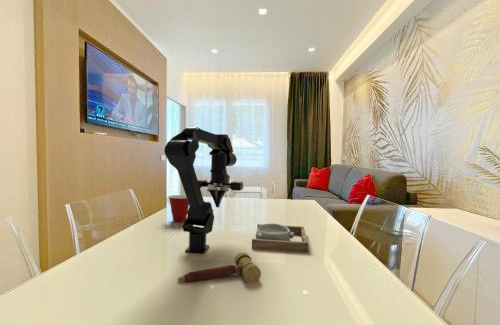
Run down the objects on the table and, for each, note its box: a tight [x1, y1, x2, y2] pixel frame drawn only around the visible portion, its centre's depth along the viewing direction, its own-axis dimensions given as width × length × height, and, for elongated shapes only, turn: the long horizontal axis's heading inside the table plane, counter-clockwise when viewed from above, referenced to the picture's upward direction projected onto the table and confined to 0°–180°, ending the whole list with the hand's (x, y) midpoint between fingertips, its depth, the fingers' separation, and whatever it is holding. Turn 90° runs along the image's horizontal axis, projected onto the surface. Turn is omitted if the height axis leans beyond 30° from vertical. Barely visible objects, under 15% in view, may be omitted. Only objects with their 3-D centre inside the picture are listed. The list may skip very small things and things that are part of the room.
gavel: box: [177, 252, 262, 283], centre depth 72 cm, size 21×5×10 cm
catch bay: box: [251, 223, 309, 253], centre depth 103 cm, size 20×19×3 cm
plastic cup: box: [168, 194, 189, 223], centre depth 128 cm, size 11×11×12 cm
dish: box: [255, 222, 295, 241], centre depth 103 cm, size 14×14×5 cm
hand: (217, 207), depth 104 cm, fingers closed
